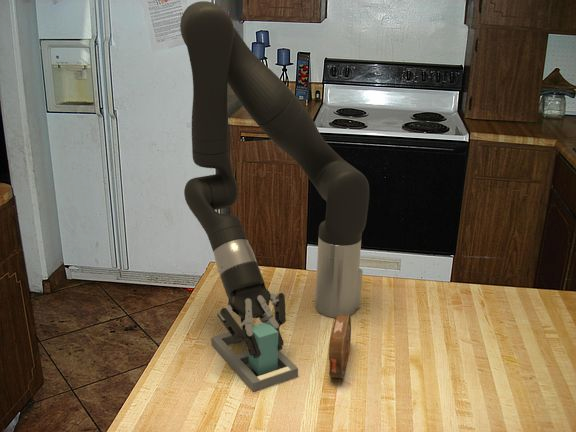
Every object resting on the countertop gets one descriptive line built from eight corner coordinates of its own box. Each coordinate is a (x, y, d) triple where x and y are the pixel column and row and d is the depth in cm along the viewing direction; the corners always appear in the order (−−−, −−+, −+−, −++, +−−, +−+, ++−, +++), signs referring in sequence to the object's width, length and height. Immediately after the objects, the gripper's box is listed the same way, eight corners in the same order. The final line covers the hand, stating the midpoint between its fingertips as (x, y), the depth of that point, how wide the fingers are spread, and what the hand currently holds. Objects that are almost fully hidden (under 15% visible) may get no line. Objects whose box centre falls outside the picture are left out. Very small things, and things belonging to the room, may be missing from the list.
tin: (342, 388, 115) (345, 348, 112) (325, 385, 116) (327, 346, 113) (351, 343, 129) (354, 307, 126) (336, 341, 130) (338, 305, 127)
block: (266, 358, 122) (267, 321, 119) (277, 368, 119) (278, 331, 116) (248, 364, 120) (248, 327, 117) (258, 375, 117) (259, 337, 114)
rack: (252, 332, 132) (253, 324, 131) (297, 376, 118) (298, 367, 117) (211, 344, 127) (211, 336, 127) (253, 391, 113) (253, 383, 113)
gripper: (210, 268, 115) (240, 359, 110) (277, 253, 122) (309, 337, 117) (198, 282, 121) (227, 369, 116) (263, 267, 128) (293, 348, 123)
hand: (268, 353), depth 116 cm, fingers closed on block, 4 cm apart
